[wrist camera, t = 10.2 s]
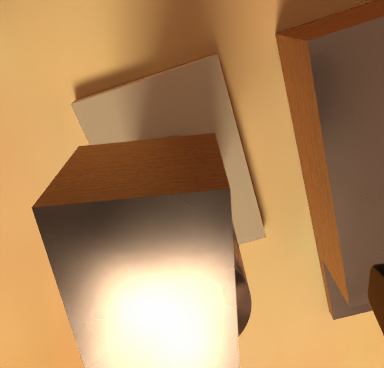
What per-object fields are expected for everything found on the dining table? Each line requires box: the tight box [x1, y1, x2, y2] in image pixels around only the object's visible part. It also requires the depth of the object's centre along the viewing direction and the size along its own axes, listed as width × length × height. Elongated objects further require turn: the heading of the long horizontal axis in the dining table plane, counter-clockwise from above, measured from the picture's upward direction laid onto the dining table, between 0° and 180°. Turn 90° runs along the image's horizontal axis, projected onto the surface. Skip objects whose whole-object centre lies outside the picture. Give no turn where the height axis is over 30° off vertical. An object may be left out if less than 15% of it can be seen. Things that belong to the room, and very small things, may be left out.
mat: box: [71, 54, 266, 245], centre depth 15 cm, size 8×6×1 cm
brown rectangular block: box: [32, 133, 251, 368], centre depth 10 cm, size 4×8×9 cm, turn 5°
